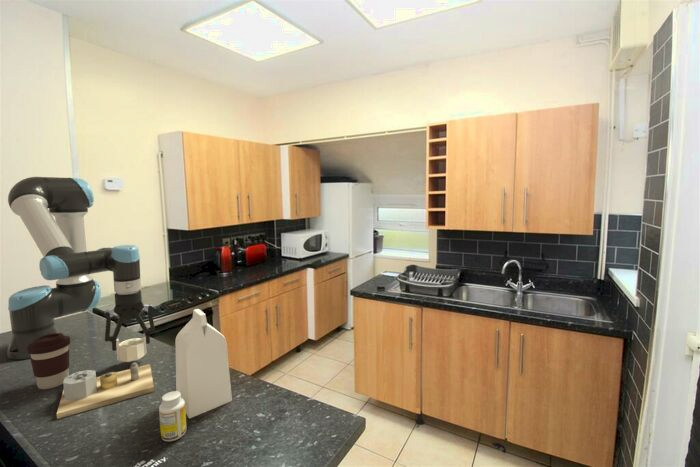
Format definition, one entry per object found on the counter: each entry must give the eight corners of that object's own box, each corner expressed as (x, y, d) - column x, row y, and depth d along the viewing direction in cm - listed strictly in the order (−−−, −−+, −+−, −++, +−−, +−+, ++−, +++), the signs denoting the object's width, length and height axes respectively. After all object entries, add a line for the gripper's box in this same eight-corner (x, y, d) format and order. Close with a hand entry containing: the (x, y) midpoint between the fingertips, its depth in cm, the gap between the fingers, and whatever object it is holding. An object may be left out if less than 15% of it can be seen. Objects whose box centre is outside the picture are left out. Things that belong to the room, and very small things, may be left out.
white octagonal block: (120, 354, 116) (119, 341, 116) (143, 349, 120) (142, 336, 120) (120, 363, 111) (119, 349, 110) (144, 358, 114) (143, 344, 114)
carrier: (65, 389, 100) (63, 368, 100) (150, 368, 113) (149, 349, 112) (57, 419, 87) (54, 395, 86) (154, 391, 99) (152, 370, 99)
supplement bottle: (180, 423, 86) (178, 386, 84) (190, 433, 82) (188, 394, 81) (157, 435, 81) (154, 396, 80) (166, 446, 78) (163, 405, 77)
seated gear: (67, 391, 97) (65, 374, 96) (97, 383, 101) (95, 367, 100) (63, 403, 91) (62, 386, 91) (95, 394, 95) (94, 378, 95)
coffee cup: (49, 394, 98) (43, 345, 96) (22, 390, 100) (16, 342, 98) (82, 376, 107) (77, 332, 106) (57, 373, 109) (52, 329, 108)
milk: (232, 400, 95) (228, 312, 92) (189, 418, 87) (183, 323, 84) (216, 383, 104) (212, 302, 101) (176, 397, 96) (170, 311, 93)
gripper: (89, 299, 104) (95, 368, 107) (163, 289, 115) (166, 352, 118) (91, 292, 110) (96, 358, 113) (160, 284, 121) (163, 344, 124)
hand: (132, 355), depth 115 cm, fingers closed on white octagonal block, 7 cm apart
